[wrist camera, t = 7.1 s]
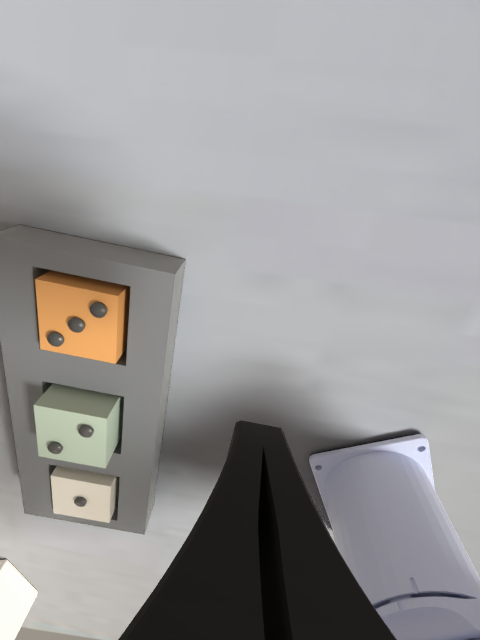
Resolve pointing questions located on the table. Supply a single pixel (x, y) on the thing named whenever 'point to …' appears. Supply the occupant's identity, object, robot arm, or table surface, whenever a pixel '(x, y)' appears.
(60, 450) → the button two sage
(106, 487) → the button one cream
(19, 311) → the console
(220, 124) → the table surface
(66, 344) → the button three orange
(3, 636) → the milk
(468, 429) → the table surface
